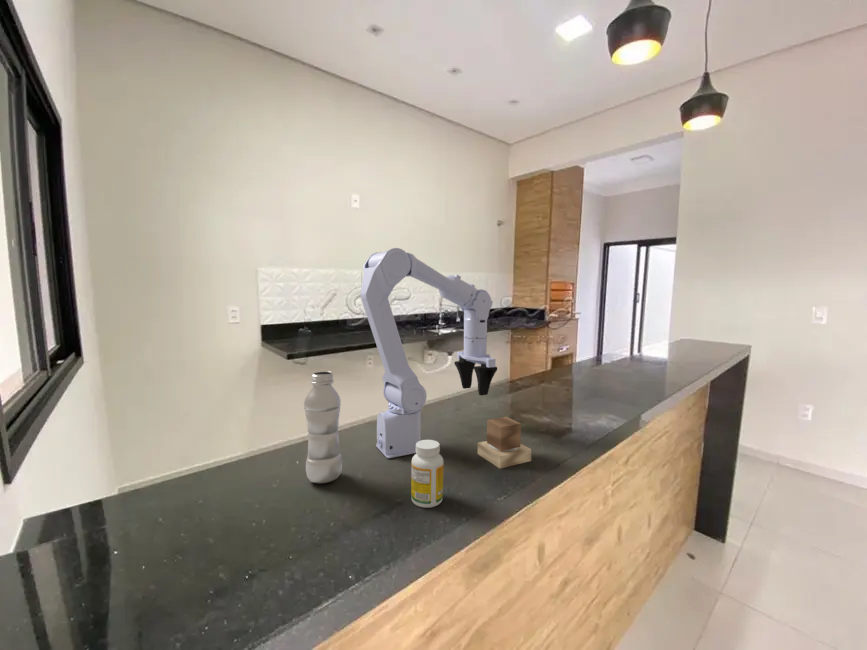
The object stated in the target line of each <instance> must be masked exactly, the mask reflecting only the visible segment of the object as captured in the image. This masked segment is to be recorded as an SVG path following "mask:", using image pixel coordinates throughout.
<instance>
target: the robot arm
mask: <svg viewBox="0 0 867 650" xmlns="http://www.w3.org/2000/svg"><path fill="white" fill-rule="evenodd" d="M362 271H363V276H362V281H361V282H362V283H361V288H360V298H361V303H362V306H363V308H364V312H365V314H366V317H367V321H368V323H369V327H370V329H371V333H372V336H373V338H374V342H375V344H376V348H377V351H378V354H379V357H380V361H381V362H382V363H381V364H382V366H383V369H384V373H383V375H382V381H383V392H382V393H383V397H384V398H385V400H386V401H387V402H388V406H387V410H385V411H383V412H379V413H378V414H377V417H376V444H375V446H376V447H377V449H378V450H379V451H380V452H381V453H382V454H383V455H384V457H385V458H386V459H392V458H397V457H402V456H408V455H413V454H416V443H417V442H419V441H421V412H422V408H423V407H424V406H425V404H426V401H427V391H426V389H425V387H424V386H423V385H422V384H421V383H420V381H419V379H418V378H419V377H418V376H417V374H416V373H415V372H414V370H413V369H412V368H411V367H410V365H409V362H408V358H407V355H406V352H405V349H404V346H403V343H402V339H401V337H400V333H399V331H398V326H397V323H396V321H395V317H394V314H393V310H392V307H391V304H390V300H389V296H390V295H391V293H392V292H393V290H394V288H395V287H396V286H397V285H398V284H399V283H400V282H401V281H402V280H404V278H406V277H411V278H413V279H415V280H417V281H420V282H421V283H424V284H426V285H429V286H430V287H432V288H435V289H437V290H438V292H439V295H440V297H441V298H443V299H445V300H447V301H450V302H451V303H453V304H455V305H457V306H459V308H460V310H461V312H463V350H462V351H457V352H456V359H457V361H454V366H455V367H456V369H457V373H458V375H459V378H460V382H461V386H462V389H464V390H465V389H471V388H472V382H473V372H475V375H476V381H477V390H478V391H477V392H478V395H479V396H486V395H487V396H488V394H489V390H490V386H491V384H492V383H491V382H492V380H493V378H494V376H495V374H496V372H497V371H498V366H496V359H497V358H493V357H491V355H490V354H489V353H488V351H487V347H488V346H487V343H488V338H487V337H488V318H489V316H490V310H491V309H492V307H493V300H492V298H491V296H490V293H488V291H487V290H485V289H477V288H476V286H475V284H473V283H468V282H466V281H464V280H463V279H461V277H462V276H461V275H460V274H448V275H447V276H446V275H444V274H442V273H441V272H439V271H437V270H436V269H435V268H432V267H431V266H429V265H428V264H427V263H425V262H423V261H421V260H420V259H418V258H417V257H416V256H415V255H414V254H412V253H410V252H406V251H405V250H404V249H403V248H399V247H393V248H390V249H387V250H384V251H379V252H376V251H375V252H374V253H372V254H370V255H369V257H367V259H366V261H365V263H364V264H363V265H362ZM476 364H477V365H478V366H476Z"/></svg>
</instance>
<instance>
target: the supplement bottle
mask: <svg viewBox="0 0 867 650" xmlns="http://www.w3.org/2000/svg"><path fill="white" fill-rule="evenodd" d="M440 446H441V445H440V443H439V442H438V441H437V440H434V439H422V440H421V439H420V441H419V442H417V443H416V453H414V455H413V456H412V459H411V464H410V465H411V466H410V467H411V470H410V471H411V473H410V474H411V476H410V478H411V479H410V481H411V485H410V487H411V488H410V489H411V491H410V496H411V497H410V498H411V502H412V503H413V504H414V505H415V506H417V507H419V508H424V509H425V508H428V509H429V508H434V507H437V506H438V505H440V504H441V503H442V501H443V499H444V457H443V456H442V454H440V452H441V447H440Z"/></svg>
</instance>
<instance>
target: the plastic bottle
mask: <svg viewBox="0 0 867 650" xmlns="http://www.w3.org/2000/svg"><path fill="white" fill-rule="evenodd" d="M333 375H334V374H333V371H326V370H325V371H324V370H323V371H316V372H313V373H311V385H312V387H311V389H310V390H309V392H307V394H306V397H305V399H304V402H303V406H304V413H305V419H306V425H307V426H306V427H307V432H308V433H307V436H308V440H307V441H308V444H307V456H306V460H305V461H306V462H305V473H306V477H307V479H308V480H309V481H310V482H311V483H315V484H326V483H330V482H333V481H335V480H337V479H338V477H339V476H340V474H341V473H342V470H343V469H342V468H343V460H342V459H343V458H342V455H341V450H340V449H341V448H340V441H339V440H340V439H339V422H340V421H339V419H340V413H341V405H342V404H341V402H342V401H341V397H340V395H339V393H338V392H337V390H336V388H334V386H333V385H332V384H334V376H333Z"/></svg>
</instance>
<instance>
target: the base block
mask: <svg viewBox="0 0 867 650" xmlns="http://www.w3.org/2000/svg"><path fill="white" fill-rule="evenodd" d="M477 455H478V456H480V457H481V458H483V459H484V460H486V461H488V462H489V463H490V464H492V465H494V466H495V467H496V468H498V469H505V468H508V467H513V466H516V465H520V464H525V463H528V462H529V463H530V462H532V448H531V447H528V446H526V445H524V444H523V443H521V447H517V448H513V449H508V450H504V451H500V450H498V449H497V448H495V447H493V446H492V445H490V444H488V443H487V440H486V441H480V442H477Z"/></svg>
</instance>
